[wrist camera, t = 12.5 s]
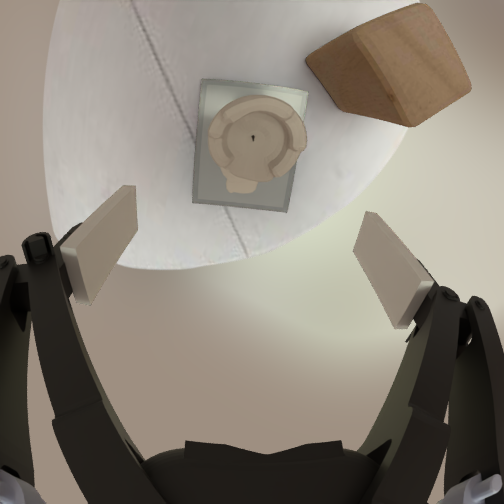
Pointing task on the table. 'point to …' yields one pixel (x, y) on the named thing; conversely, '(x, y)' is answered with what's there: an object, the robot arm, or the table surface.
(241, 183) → the candle
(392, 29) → the wooden block
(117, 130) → the table surface
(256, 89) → the grey flat block
